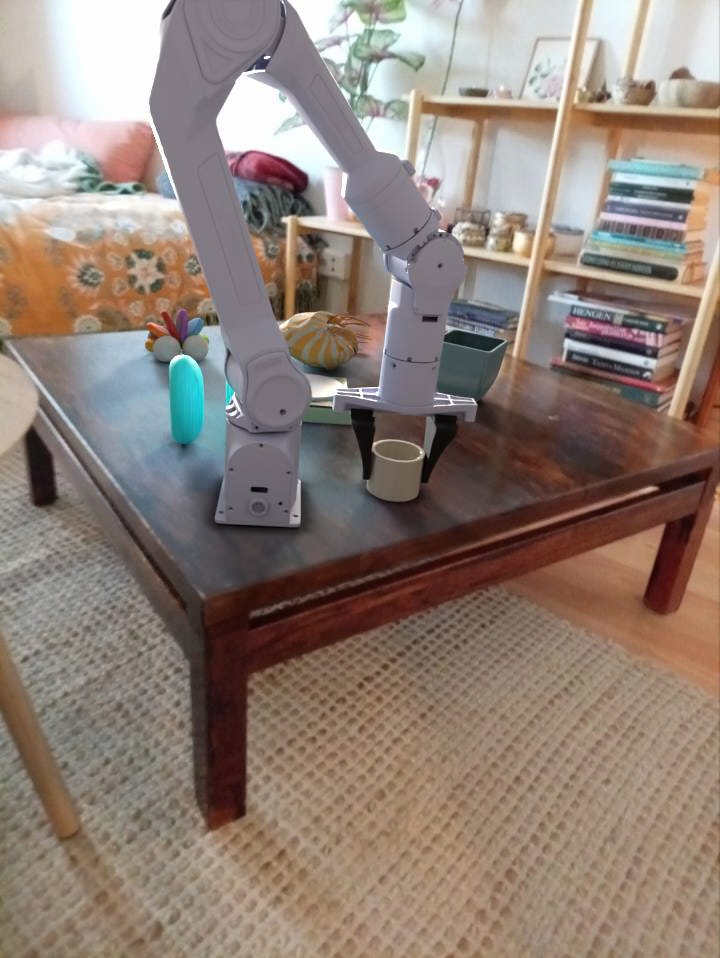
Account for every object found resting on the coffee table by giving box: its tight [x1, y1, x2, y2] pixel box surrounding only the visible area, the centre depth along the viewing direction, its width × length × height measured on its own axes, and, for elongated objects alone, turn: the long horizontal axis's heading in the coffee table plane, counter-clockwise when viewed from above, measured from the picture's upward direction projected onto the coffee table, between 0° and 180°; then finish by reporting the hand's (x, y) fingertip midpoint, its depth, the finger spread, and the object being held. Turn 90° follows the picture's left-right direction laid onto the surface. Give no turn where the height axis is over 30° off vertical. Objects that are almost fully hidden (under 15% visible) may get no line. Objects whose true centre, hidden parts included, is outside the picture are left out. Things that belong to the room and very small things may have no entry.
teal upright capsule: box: [168, 354, 234, 445], centre depth 80 cm, size 10×10×10 cm
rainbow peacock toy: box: [144, 308, 210, 363], centre depth 107 cm, size 8×10×7 cm
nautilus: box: [278, 310, 373, 372], centre depth 113 cm, size 8×22×15 cm
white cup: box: [366, 438, 425, 503], centre depth 75 cm, size 6×6×5 cm
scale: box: [302, 373, 352, 426], centre depth 96 cm, size 13×11×3 cm
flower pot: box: [436, 328, 509, 403], centre depth 103 cm, size 9×9×9 cm
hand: (394, 477), depth 75 cm, fingers closed on white cup, 6 cm apart
